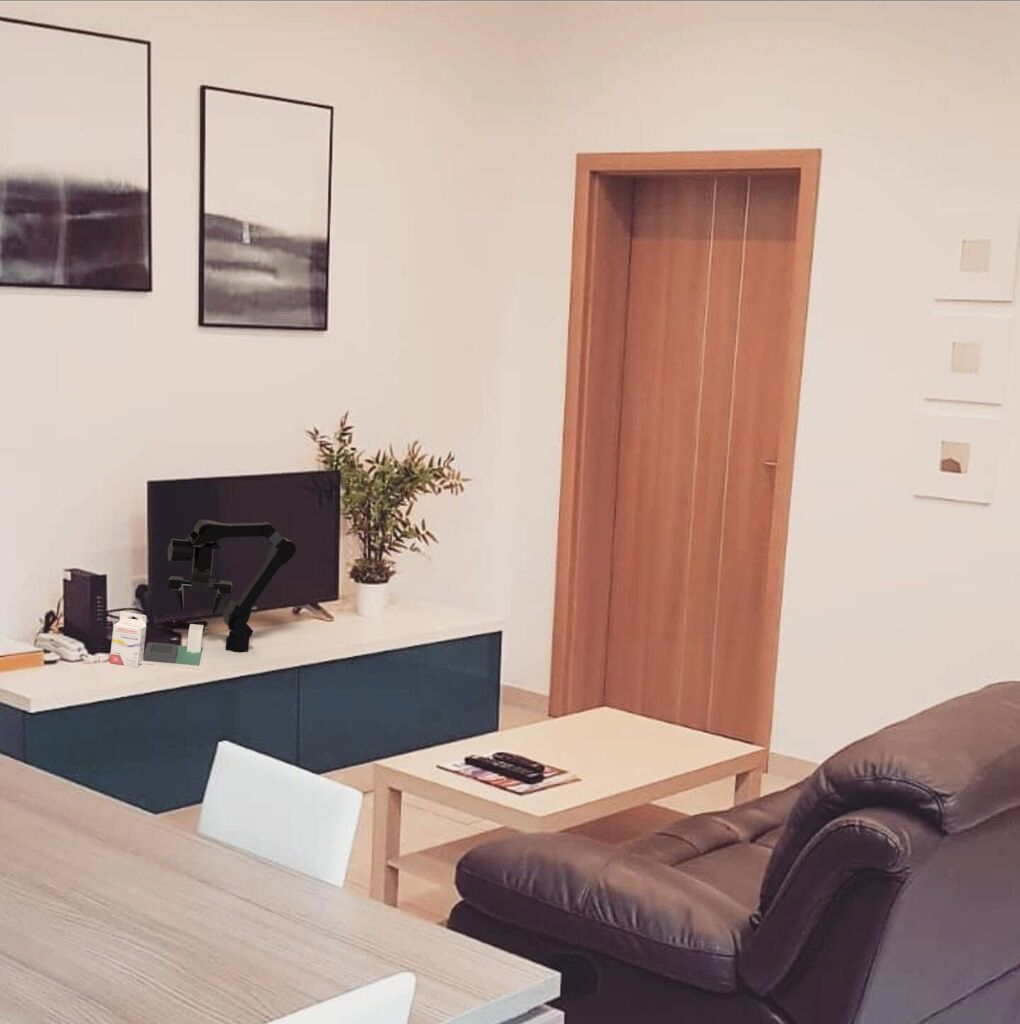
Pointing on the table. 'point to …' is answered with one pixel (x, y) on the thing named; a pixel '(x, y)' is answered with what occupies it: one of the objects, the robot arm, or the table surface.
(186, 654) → the board
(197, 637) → the plug
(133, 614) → the ink cartridge box
